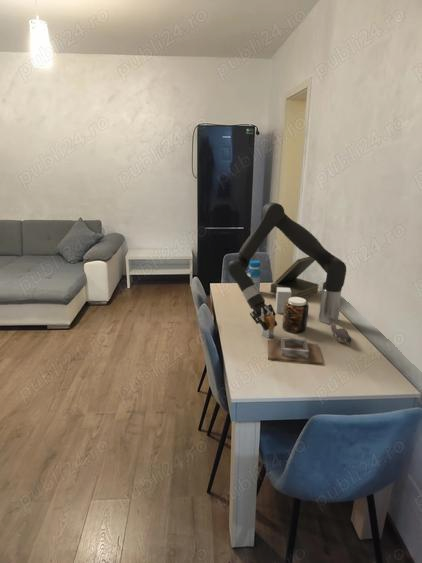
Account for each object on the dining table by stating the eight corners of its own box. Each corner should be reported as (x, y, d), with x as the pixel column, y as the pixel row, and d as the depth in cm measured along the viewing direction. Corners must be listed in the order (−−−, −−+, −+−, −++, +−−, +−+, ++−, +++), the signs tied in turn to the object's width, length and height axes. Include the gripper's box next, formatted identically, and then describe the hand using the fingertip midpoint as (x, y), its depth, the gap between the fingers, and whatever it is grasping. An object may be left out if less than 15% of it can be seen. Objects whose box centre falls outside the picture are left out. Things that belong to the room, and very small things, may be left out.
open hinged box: (292, 285, 244) (296, 249, 236) (317, 293, 230) (322, 255, 222) (270, 293, 230) (273, 254, 222) (295, 302, 216) (300, 261, 208)
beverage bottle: (255, 295, 223) (257, 264, 217) (243, 292, 228) (245, 261, 222) (262, 292, 230) (264, 261, 223) (250, 289, 234) (252, 258, 228)
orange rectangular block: (260, 335, 173) (262, 315, 170) (265, 332, 175) (267, 313, 172) (269, 339, 169) (271, 319, 166) (274, 336, 172) (276, 316, 169)
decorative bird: (341, 349, 162) (343, 339, 160) (320, 325, 185) (321, 316, 183) (355, 349, 162) (357, 338, 161) (332, 325, 186) (333, 316, 184)
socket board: (317, 346, 164) (318, 338, 163) (322, 364, 149) (323, 356, 148) (267, 341, 167) (268, 333, 165) (268, 359, 152) (268, 350, 150)
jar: (306, 334, 174) (310, 305, 170) (281, 332, 177) (284, 303, 172) (305, 324, 185) (309, 296, 181) (282, 322, 188) (285, 294, 183)
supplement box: (288, 308, 205) (290, 287, 201) (289, 314, 198) (291, 292, 194) (274, 308, 205) (276, 286, 201) (275, 313, 198) (277, 291, 194)
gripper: (248, 296, 166) (267, 329, 162) (267, 289, 176) (285, 320, 172) (238, 304, 172) (256, 335, 167) (258, 297, 181) (275, 326, 177)
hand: (271, 327), depth 170 cm, fingers open, 6 cm apart
